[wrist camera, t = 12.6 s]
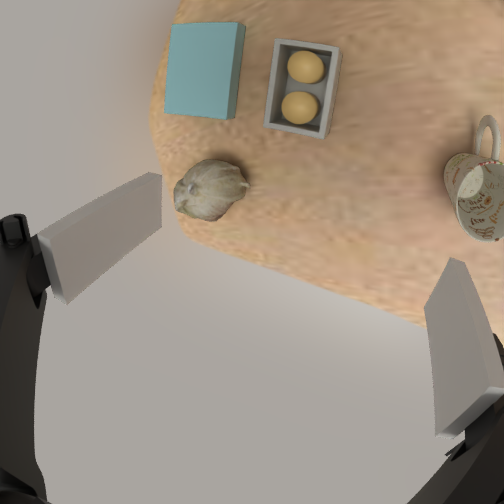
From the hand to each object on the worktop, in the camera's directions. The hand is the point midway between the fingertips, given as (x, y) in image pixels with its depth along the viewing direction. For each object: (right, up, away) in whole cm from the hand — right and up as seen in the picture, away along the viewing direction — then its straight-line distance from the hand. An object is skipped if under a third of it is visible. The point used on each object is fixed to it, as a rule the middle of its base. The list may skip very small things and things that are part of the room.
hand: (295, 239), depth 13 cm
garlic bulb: (-5, +9, +30) cm, 31 cm away
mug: (+24, +11, +17) cm, 31 cm away
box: (+5, +19, +20) cm, 28 cm away
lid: (-8, +23, +22) cm, 33 cm away
